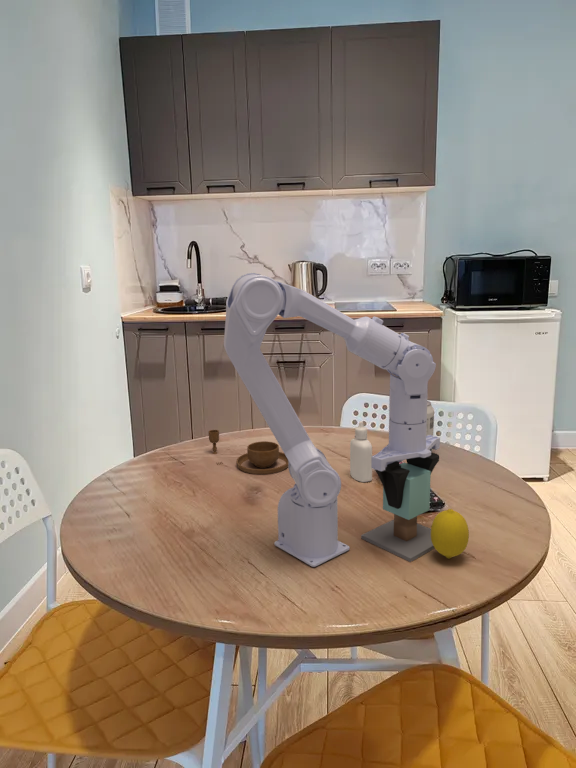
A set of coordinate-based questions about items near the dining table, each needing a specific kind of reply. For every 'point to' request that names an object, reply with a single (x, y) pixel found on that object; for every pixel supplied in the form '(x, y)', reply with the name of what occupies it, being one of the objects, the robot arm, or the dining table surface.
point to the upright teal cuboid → (412, 493)
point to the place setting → (256, 455)
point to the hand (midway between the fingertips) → (405, 501)
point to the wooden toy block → (405, 527)
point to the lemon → (449, 533)
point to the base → (400, 541)
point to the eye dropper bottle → (360, 455)
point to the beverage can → (430, 419)
